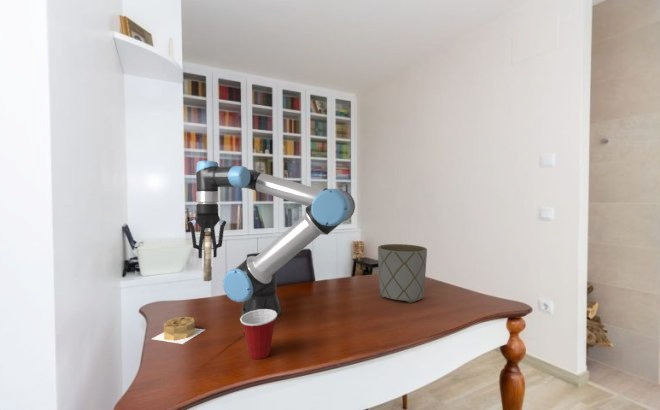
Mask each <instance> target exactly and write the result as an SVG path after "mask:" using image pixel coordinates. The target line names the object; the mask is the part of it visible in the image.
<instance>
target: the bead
mask: <svg viewBox="0 0 660 410" xmlns="http://www.w3.org/2000/svg"><path fill="white" fill-rule="evenodd" d="M195 324H196V323H195V319H194V317H190V316H181V317H180V316H179V317H175V318H171V319H168V320H167V321H165V322H163V332H164V339H166V340H172V341H175V340H180V339H186V338H188V337H190V336H191V335H193V334H195V328H196V326H195Z"/></svg>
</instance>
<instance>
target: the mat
mask: <svg viewBox="0 0 660 410" xmlns="http://www.w3.org/2000/svg"><path fill="white" fill-rule="evenodd" d="M203 332H205V329H202V328H196V327H195V334H193V335H191V336H190V337H188V338H186V339H180V340H175V341H172V340H166V339H164V331H163V332H162V333H160V334H157V335H155V336H154V337H152V338H151V340H154V341H163V342H168V343H174V344H181V345H184V344H185V343H187V342H188V341H190V340H192V339H193V338H194V337H196V336H198V335H199V334H201V333H203Z"/></svg>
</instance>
